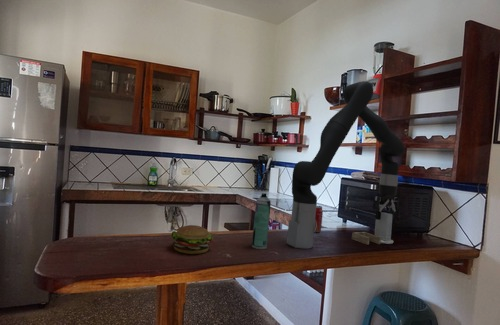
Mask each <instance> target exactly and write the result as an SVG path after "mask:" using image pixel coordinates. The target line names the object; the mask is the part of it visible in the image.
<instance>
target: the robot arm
mask: <svg viewBox="0 0 500 325" xmlns="http://www.w3.org/2000/svg"><path fill="white" fill-rule="evenodd" d="M342 94H343V95H342V96H343V99H344V102H345V103H346V104H345V106H344V107H342V108H341V109H340V110H338V111H337V112H336V113H335V114H334V115H333V116H332V117H330V119H328V122H327V123H326V125H325V126H324V127H323V129H322V131H321V133H320V138H319V139H320V141H319V142H320V143H319V144H320V147H319V149H318V152H317V153H316V155H315V157H314V158H312V159H311V160H312V161H309V160H300V161H298V162H296V164H295V165H294V166H293V170H292V175H291V176H292V179H291V180H292V181H291V194H292V208H291V215H290V219H289V220H288V227H287V236H286V244H287V245H289V246H291V247H293V248H295V249H306V250H307V249H312V248H313V245H314V244H313V243H314V225H315V214H316V206H317V202H318V197H317V195H316V194H315V193H314V191H312V188H311V187H314V186H318V185H319V184H320V183H321V182H322V181H323V180H324V177H325V175H326V174H327V171H328V170H329V167H330V165H331V163H332V161H333V159H334V157H335V155H336V154H337V153H338V152H337V151H338V150H339V148H340V147H341V145H342V143H344V140H345V139H346V137H347V136H348V135H349V132H350V130H351V129H352V128H353V125H354V124H355V123H356V121H357V120H358V118H360V120H361V121H362V122H363V123H365V124H366V126H367V127H368V128H369V130H370V132H371V134H372V136H374V137H375V139H376V141H378V142H379V143H381V145H380V148H379V153H380V155H379V156H380V161H381V173H380V178H379V186H378V194H379V196H376V195H374V197H373V203H372V209H373V210H374V211H375V214H374V215H375V217H374V218H375V220H376V219H377V220H380V219H381V212H382V211H383V210H384V208H386V207H387V208H388V210H389V211H388V214H392V221H393V220H394V218H395V212H396V211H399V207H400V198H399V197H396V195H397V192H398V183H399V182H398V181H399V176H398V175H399V163H398V162H396V161H394V160H393V157H401V156H402V155H404V153H405V150H406V148H405V147H406V146H405V144H404V142H403V140H401V139H400V138H399V137H398V136H397V135H396V134H395V133H394V132H393V131H391V129H390V127H389V126H388V124H387V122H386V121H385V119H383V118H382V117H381V116H380V115H378V114H377V113H376V112H374V111H373V110H372V109H370V108H369V107H368V106H367V105H368V104H369V103H370V102H371V101H372V98H373V96H374V87H373V84H372V83H371V82H369V81H365V80H363V81H361V80H360V81H357V82H355V83H352V84H351V83H350V84H349V85H346V86H345V87H344V89H343V93H342Z"/></svg>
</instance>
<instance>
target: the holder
mask: <svg viewBox="0 0 500 325" xmlns="http://www.w3.org/2000/svg"><path fill="white" fill-rule="evenodd" d="M351 240H354V241H355V242H359V243H362V244H364V245H370V242H372V243H375V244H377V245H381V243H380V242H381V237H379V236H376V235H375V234H372V233H369V232H366V231H360V232H359V231H357V232H352V234H351Z"/></svg>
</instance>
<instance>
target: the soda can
mask: <svg viewBox="0 0 500 325" xmlns="http://www.w3.org/2000/svg"><path fill="white" fill-rule="evenodd" d="M322 208H323V207H322V206H319V205H316V214H315V225H314V232H318V233H319V232H321V231H322V225H323V216H324V215H323V212H324V211H323V209H322Z"/></svg>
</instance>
